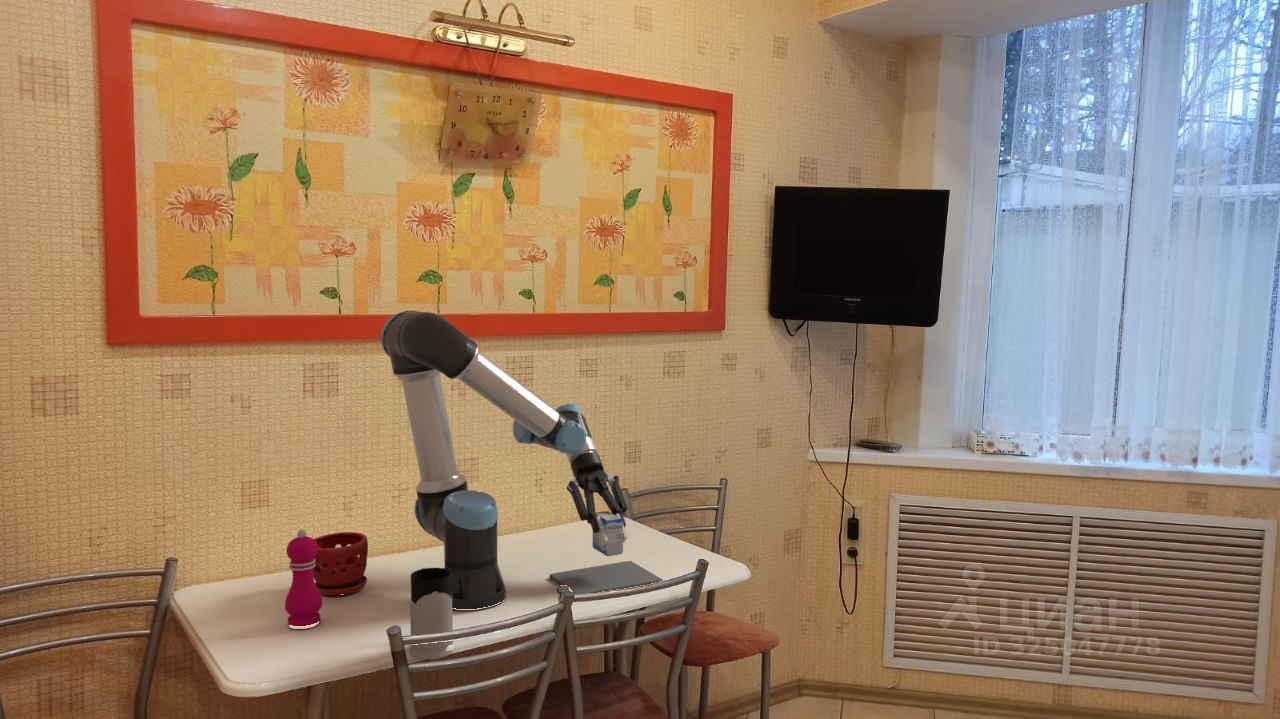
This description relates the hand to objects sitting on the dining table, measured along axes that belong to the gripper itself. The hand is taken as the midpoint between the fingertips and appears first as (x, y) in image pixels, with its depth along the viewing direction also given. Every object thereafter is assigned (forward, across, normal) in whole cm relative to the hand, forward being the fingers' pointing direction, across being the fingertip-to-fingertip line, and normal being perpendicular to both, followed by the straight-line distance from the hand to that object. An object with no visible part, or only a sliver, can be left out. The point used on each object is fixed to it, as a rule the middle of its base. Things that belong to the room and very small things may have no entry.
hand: (614, 541), depth 205 cm
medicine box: (0, 0, -5) cm, 5 cm away
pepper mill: (+1, +68, -13) cm, 69 cm away
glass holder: (+17, +48, +2) cm, 51 cm away
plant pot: (-12, +58, -26) cm, 64 cm away
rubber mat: (+5, +1, -10) cm, 11 cm away
